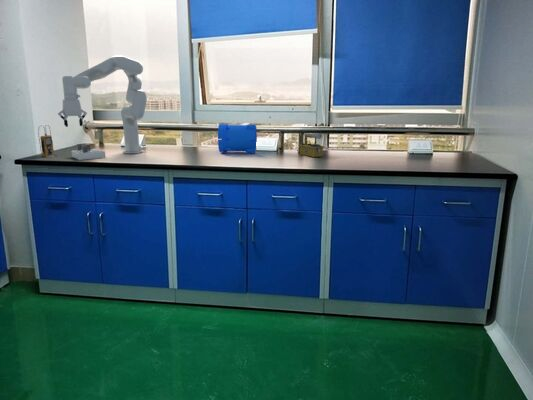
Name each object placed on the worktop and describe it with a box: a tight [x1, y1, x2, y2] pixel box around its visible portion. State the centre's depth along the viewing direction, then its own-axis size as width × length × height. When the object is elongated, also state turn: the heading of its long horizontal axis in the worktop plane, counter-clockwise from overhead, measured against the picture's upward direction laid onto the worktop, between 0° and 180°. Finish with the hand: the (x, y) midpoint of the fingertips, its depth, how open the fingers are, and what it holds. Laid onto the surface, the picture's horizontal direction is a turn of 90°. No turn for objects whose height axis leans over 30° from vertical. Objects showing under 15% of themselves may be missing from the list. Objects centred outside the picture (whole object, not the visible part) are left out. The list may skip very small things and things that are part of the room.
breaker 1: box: [76, 143, 83, 150], centre depth 284 cm, size 2×2×4 cm
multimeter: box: [37, 125, 59, 159], centre depth 285 cm, size 15×10×20 cm
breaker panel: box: [71, 148, 106, 161], centre depth 283 cm, size 16×16×4 cm
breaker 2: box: [82, 145, 88, 152], centre depth 275 cm, size 2×2×4 cm
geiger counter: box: [297, 132, 326, 158], centre depth 296 cm, size 9×26×15 cm, turn 31°
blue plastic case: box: [217, 123, 258, 154], centre depth 308 cm, size 25×22×19 cm
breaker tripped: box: [84, 143, 91, 151], centre depth 282 cm, size 2×2×4 cm
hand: (73, 126), depth 274 cm, fingers open, 7 cm apart
